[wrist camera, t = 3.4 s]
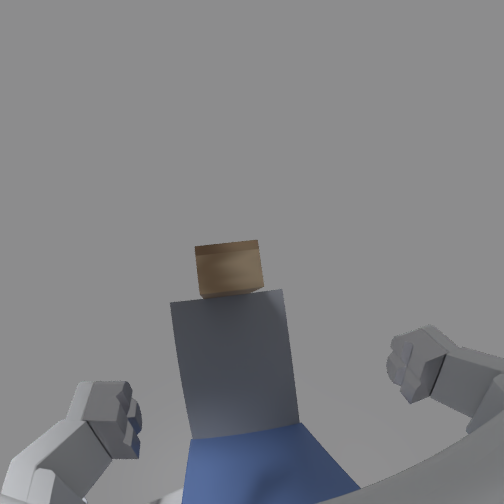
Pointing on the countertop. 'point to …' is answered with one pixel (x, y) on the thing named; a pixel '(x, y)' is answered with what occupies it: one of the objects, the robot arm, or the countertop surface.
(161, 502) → the countertop surface
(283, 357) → the l-shaped step block
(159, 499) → the countertop surface
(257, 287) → the slide box
